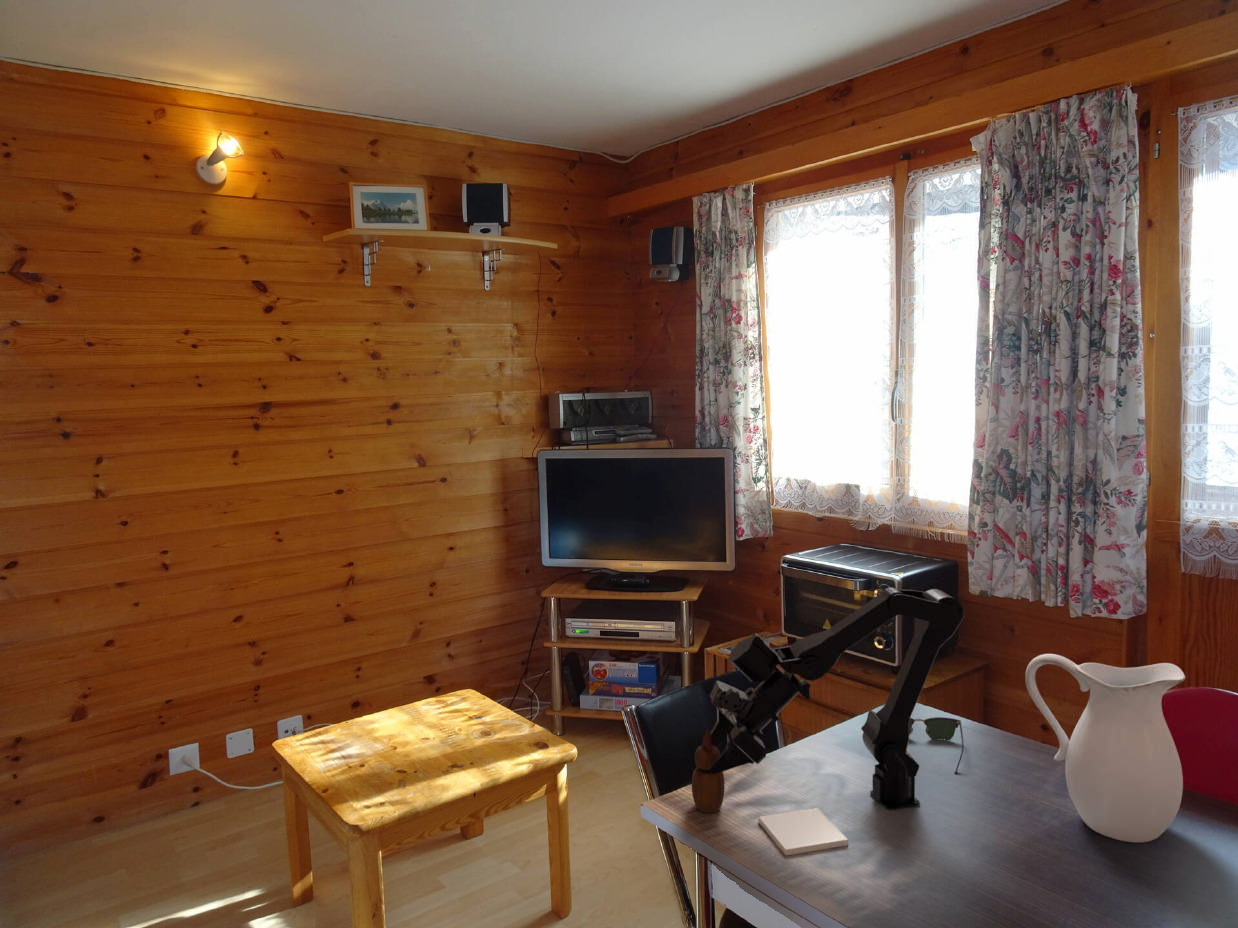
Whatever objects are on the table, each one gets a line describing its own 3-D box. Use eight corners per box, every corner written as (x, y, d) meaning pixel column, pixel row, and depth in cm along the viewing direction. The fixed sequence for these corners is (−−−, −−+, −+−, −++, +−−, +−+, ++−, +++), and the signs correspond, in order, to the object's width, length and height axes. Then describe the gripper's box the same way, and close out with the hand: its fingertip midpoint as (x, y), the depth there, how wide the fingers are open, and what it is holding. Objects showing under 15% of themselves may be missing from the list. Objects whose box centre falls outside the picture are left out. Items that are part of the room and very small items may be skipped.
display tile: (817, 813, 153) (817, 807, 153) (848, 844, 142) (848, 839, 142) (758, 822, 150) (758, 816, 150) (785, 855, 140) (785, 849, 140)
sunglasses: (883, 770, 170) (883, 745, 169) (878, 735, 186) (878, 713, 186) (973, 777, 166) (973, 751, 165) (960, 741, 182) (960, 718, 182)
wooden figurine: (723, 817, 152) (721, 735, 151) (690, 815, 153) (688, 733, 152) (726, 799, 159) (724, 720, 157) (694, 797, 160) (693, 718, 159)
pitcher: (1190, 822, 147) (1196, 661, 144) (1168, 865, 134) (1174, 690, 132) (1040, 781, 163) (1042, 636, 160) (1007, 815, 151) (1010, 658, 148)
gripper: (728, 651, 163) (670, 710, 164) (746, 686, 145) (680, 752, 145) (770, 691, 164) (712, 749, 165) (793, 730, 146) (728, 796, 146)
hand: (707, 760), depth 155 cm, fingers open, 9 cm apart
